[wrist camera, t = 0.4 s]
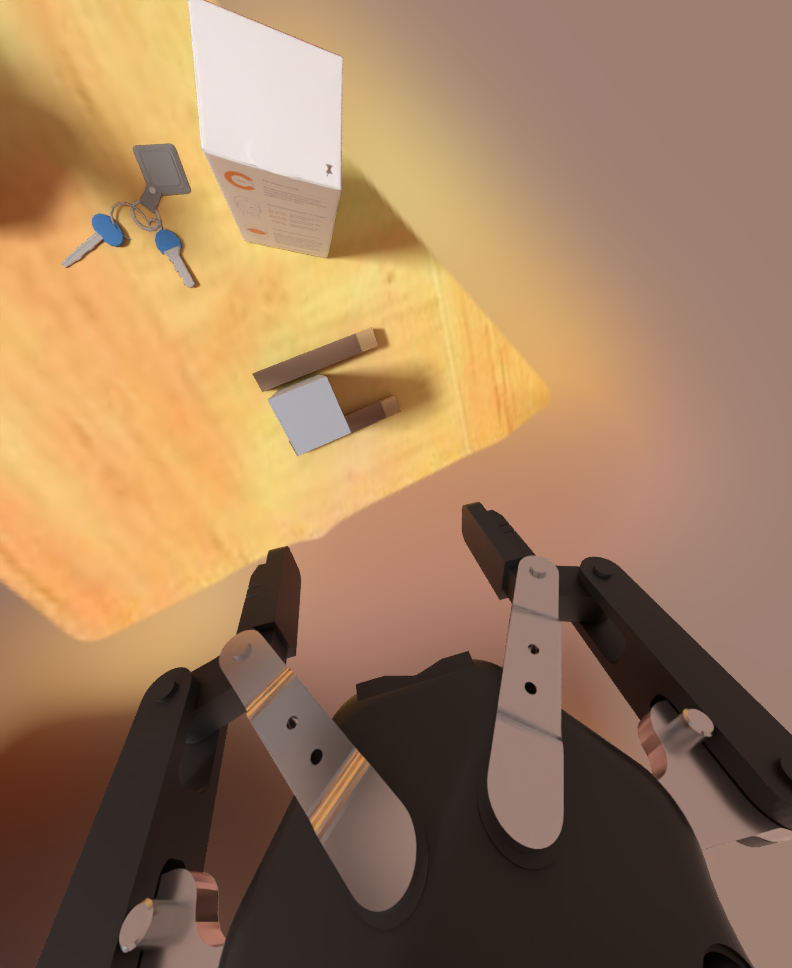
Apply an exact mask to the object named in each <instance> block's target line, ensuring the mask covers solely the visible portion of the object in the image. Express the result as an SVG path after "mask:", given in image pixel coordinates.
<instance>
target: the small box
mask: <svg viewBox="0 0 792 968" xmlns="http://www.w3.org/2000/svg"><path fill="white" fill-rule="evenodd" d="M188 4H189V15H190V26H191V37H192V48H193V59H194V71H195V81H196V92H197V103H198V115H199V126H200V137H201V148H202V151H203V153H204V155H205V157H206V159H207V161H208V163H209V165H210V167H211V169H212V171H213V173H214V176H215V178H216V180H217V182H218V185H219V187H220V189H221V191H222V193H223V195H224V197H225V200H226V202H227V204H228V206H229V208H230V211H231V213H232V215H233V217H234V220H235V222H236V224H237V226H238V228H239V230H240V232H241V234H242V237H243V239H244V240H245V241H246V242H251V243H256V244H260V245H265V246H270V247H275V248H279V249H284V250H289V251H294V252H299V253H304V254H309V255H314V256H319V257H324V258H327V257H328V253H329V248H330V244H331V240H332V235H333V230H334V224H335V219H336V215H337V210H338V205H339V200H340V195H341V191H342V75H343V72H342V71H343V58H342V57H341V56H340V55H338V54H335V53H333V52H330V51H327V50H325V49H323V48H320V47H318V46H316V45H313V44H311V43H308V42H306V41H303V40H301V39H299V38H296V37H293V36H291V35H288V34H286V33H284V32H281V31H279V30H276V29H274V28H271V27H269V26H267V25H264V24H262V23H259V22H257V21H255V20H252V19H249V18H247V17H245V16H242V15H240V14H237V13H235V12H232V11H230V10H228V9H225V8H223V7H220V6H218V5H216V4H213V3H211V2H208V1H206V0H188Z"/></svg>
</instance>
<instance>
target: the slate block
mask: <svg viewBox="0 0 792 968" xmlns="http://www.w3.org/2000/svg"><path fill="white" fill-rule="evenodd" d="M268 402H269V404H270V405H271V407H272V409H273V411H274V413H275V415H276V416H277V418H278V420H279V422H280V424H281V426H282V427H283V429H284V431H285V433H286V435H287V437H288V438H289V440H290V442H291V444H292V446H293V448H294V450H295V451H296V453H297V455H298V456H299V455H301V454H303V453H306V452H308V451H310V450H313V449H315V448H317V447H319V446H322V445H324V444H326V443H329V442H331V441H333V440H336V439H338V438H340V437H343V436H345V435H347V434H349V433H351V431H350V429H349V427H348V424H347V422H346V420H345V418H344V415H343V413H342V411H341V408H340V406H339V404H338V401H337V399H336V397H335V395H334V392H333V390H332V388H331V385H330V383H329V381H328V378H327V376H324V375H320V374H318V375H316V376H313V377H311V378H308V379H306V380H303V381H301V382H298V383H296V384H293V385H291V386H288V387H286V388H283V389H281V390H279V391H277V392H276V393H275V394H274V395H273V396H272V397H271V398H269V399H268Z"/></svg>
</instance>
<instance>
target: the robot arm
mask: <svg viewBox="0 0 792 968" xmlns="http://www.w3.org/2000/svg"><path fill="white" fill-rule="evenodd" d="M462 533H463V537H464V540H465V542H466V544H467V546H468V547H469V549H470V551H471V553H472V554H473V556H474V557H475V559H476V561H477V562H478V564H479V566H480V568H481V569H482V571H483V573H484V574H485V576H486V578H487V579H488V581H489V583H490V584H491V586H492V588H493V589H494V591H495V593H496V595H497V596H498V598H499V599H500V600H502V599H505V598H509V600H510V601H511V603H512V606H511V613H510V619H509V626H508V633H507V639H506V645H505V652H504V658H503V665H502V667H500V666H498V665H496V664H493V663H491V662H487V661H483V660H476V659H474V660H473V659H472V658H471V656H470V653H469V651H467V652H464V653H460V654H457V655H454V656H450V657H447V658H443V659H441V660H439V661H438V662H436V663H435V664H433V665H432V666H430V667H429V668H427V669H425V670H424V671H422V672H421V673H419V674H417V675H415V676H383V677H379V678H376V679H372V680H369V681H366V682H362V683H359V684H357V685H356V689H357V694H356V695H354V696H353V697H351V698H350V699H349V700H348V701H347V702H345V703H344V704H343V705H342V706H341V708H340V709H339V710H338V711H337V712H336V714H335V715H334V716H333V718H332V719H331V717H330V716H329V715H328V714H327V713H326V711H325V710H324V709H323V708H322V707H321V705H320V704H319V703H318V702H317V700H316V699H315V698H314V697H313V696H312V694H311V693H310V692H309V691H308V690H307V688H306V687H305V686H304V685H303V683H302V682H301V681H300V680H299V679H298V677H297V676H296V675H295V674H294V673H293V671H292V670H291V669H289V668H288V667H287V666H286V659H287V658H289V657H293V656H296V647H297V633H298V619H299V605H300V590H301V576H300V572H299V569H298V567H297V564H296V562H295V560H294V557H293V555H292V553H291V552H290V549H289V547H288V546H285V547H281V548H277V549H272V550H269V552H268V556H267V561H266V564H261V565H258V567H257V568H256V570H255V571H254V573H253V574H252V575H251V578H250V582H249V586H248V587H249V589H248V590H247V595H246V599H245V602H244V606H243V610H242V614H241V618H240V622H239V626H238V630H237V633H236V635H235V636H234V637H233V638H232V639H230V640H229V641H228V642H227V644H226V645H225V646H224V648H223V649H222V651H221V654H220V655H219V656H218V657H217V658H215V659H213V660H212V661H210V662H208V663H206V664H205V665H203V666H201V667H200V668H198V669H196V670H194V671H192V672H190V671H189V670H188V669H187V668H183V667H180V668H175V669H172V670H170V671H168V672H166V673H165V674H163V675H162V676H160V677H159V678H158V679H157V680H156V681H155V682H154V683H153V684H152V685H151V686H150V687H149V689H148V690H147V692H146V693H145V695H144V696H143V699H142V701H141V704H140V706H139V708H138V711H137V714H136V716H135V719H134V721H133V724H132V726H131V729H130V731H129V734H128V736H127V739H126V741H125V744H124V746H123V749H122V752H121V754H120V757H119V759H118V762H117V764H116V767H115V769H114V772H113V774H112V777H111V779H110V782H109V784H108V787H107V789H106V792H105V794H104V797H103V800H102V802H101V805H100V807H99V810H98V812H97V815H96V817H95V820H94V822H93V825H92V827H91V830H90V833H89V835H88V838H87V840H86V843H85V845H84V848H83V850H82V853H81V855H80V858H79V860H78V863H77V865H76V868H75V870H74V873H73V875H72V878H71V880H70V883H69V885H68V888H67V890H66V893H65V896H64V898H63V901H62V903H61V906H60V908H59V911H58V913H57V916H56V918H55V921H54V923H53V926H52V928H51V931H50V933H49V936H48V938H47V941H46V944H45V946H44V949H43V951H42V954H41V956H40V959H39V961H38V964H37V966H36V968H754V967H753V965H752V963H751V962H750V960H749V958H748V957H747V955H746V953H745V952H744V950H743V948H742V946H741V944H740V942H739V940H738V938H737V936H736V934H735V932H734V930H733V928H732V926H731V924H730V922H729V920H728V918H727V916H726V914H725V911H724V909H723V907H722V905H721V902H720V900H719V898H718V895H717V893H716V890H715V888H714V885H713V883H712V880H711V877H710V874H709V871H708V868H707V865H706V862H705V858H704V856H703V853H702V850H704V849H708V848H711V847H715V846H718V845H722V844H725V843H729V842H732V841H737V842H739V843H741V844H744V845H746V846H750V847H761V846H765V845H769V844H773V843H778V842H782V841H786V840H790V839H792V735H791V734H790V733H789V732H788V731H787V730H786V729H785V728H784V727H783V726H782V725H781V724H780V723H779V722H778V721H777V720H776V719H775V718H774V717H773V716H772V715H771V714H770V713H769V712H768V711H767V710H766V709H764V707H763V706H762V705H761V704H760V703H759V702H757V701H756V700H755V699H754V698H753V697H752V696H751V695H750V694H749V693H748V692H747V691H746V690H745V689H744V688H743V687H742V686H741V685H740V684H739V683H738V682H737V681H736V680H735V679H734V678H733V677H732V676H731V675H730V674H729V673H728V672H727V671H726V670H725V669H724V668H722V666H721V665H720V664H718V662H716V661H715V660H714V659H713V658H712V657H711V656H710V655H709V654H708V653H707V652H706V651H705V650H704V649H703V648H702V647H701V646H700V645H699V644H698V643H697V642H696V641H695V640H694V639H693V638H692V637H691V636H690V635H689V634H688V633H687V632H686V631H685V630H683V628H682V627H681V626H680V625H678V624H677V622H675V621H674V620H673V619H672V618H671V617H670V616H669V615H668V614H667V613H666V612H665V611H664V610H663V609H662V608H661V607H660V606H659V605H658V604H657V603H656V602H655V601H654V600H653V599H652V598H651V597H650V596H649V595H648V594H647V593H646V592H645V591H644V590H643V589H642V588H640V586H639V585H638V584H637V583H635V582H634V581H633V580H632V579H631V578H630V577H629V576H628V575H627V574H626V573H625V572H624V571H623V570H622V569H621V568H620V567H619V566H618V565H616V564H615V563H613V562H612V561H610V560H607V559H604V558H600V557H588V558H586V559H584V560H583V561H582V563H581V565H580V567H577V566H556V565H554V564H553V563H552V562H551V561H549V560H548V559H546V558H543V557H540V556H536V555H535V554H534V553H533V552H532V550H531V549H530V548H529V547H528V546H527V544H526V543H525V542H524V541H523V540H522V539H521V537H520V536H519V535H518V534H517V533H516V531H514V529H513V528H512V527H511V525H509V523H508V522H507V521H506V519H505V518H504V517H503V516H502V515H500V514H499V513H497V512H495V511H493V510H489V511H487V510H486V509H485V508H484V507H483V505H482V504H481V503H480V502H475V503H471V504H466V505H463V507H462ZM561 621H567V622H572V624H573V625H574V627H575V628H576V630H577V631H578V632H579V634H580V635H581V637H582V638H583V640H584V641H585V642H586V644H587V645H588V647H589V648H590V649H591V651H592V652H593V654H594V655H595V657H596V658H597V659H598V661H599V662H600V664H601V665H602V667H603V668H604V669H605V671H606V672H607V674H608V675H609V676H610V678H611V679H612V681H613V682H614V684H615V685H616V687H617V688H618V689H619V691H620V692H621V694H622V695H623V696H624V698H625V699H626V700H627V702H628V703H629V705H630V706H631V708H632V709H633V711H634V712H635V713H636V715H637V716H638V718H639V719H640V722H639V723H638V727H637V733H638V738H639V741H640V743H641V746H642V747H643V749H644V751H645V753H646V755H647V757H648V759H649V762H650V766H651V771H652V774H651V773H650V772H649V771H648V770H647V769H645V768H644V767H643V766H642V765H640V764H639V763H638V762H636V761H635V760H633V759H632V758H631V757H629V756H628V755H626V754H625V753H623V752H622V751H621V750H619V749H618V748H616V747H615V746H614V745H612V744H610V743H609V742H608V741H606V740H605V739H604V738H602V737H601V736H599V735H598V734H596V733H595V732H593V731H592V730H591V729H589V728H588V727H587V726H585V725H584V724H582V723H581V722H580V721H578V720H577V719H575V718H574V717H572V716H571V715H570V714H568V713H567V712H565V711H564V710H562V709H561V652H562V650H561V649H562V647H561V646H562V642H561V641H562V625H561ZM246 711H247V712H246ZM244 712H246V714H247V717H248V718H249V720H250V722H251V724H252V725H253V727H254V728H255V730H256V732H257V733H258V735H259V737H260V738H261V740H262V742H263V743H264V745H265V747H266V748H267V750H268V752H269V753H270V755H271V757H272V758H273V760H274V762H275V763H276V765H277V767H278V768H279V770H280V772H281V773H282V775H283V777H284V778H285V779H286V781H287V783H288V785H289V787H290V788H291V789H292V792H293V793H294V795H293V798H292V800H291V802H290V804H289V806H288V808H287V810H286V812H285V814H284V816H283V818H282V820H281V822H280V824H279V826H278V828H277V830H276V832H275V834H274V836H273V838H272V840H271V842H270V845H269V847H268V848H267V850H266V852H265V855H264V857H263V859H262V861H261V863H260V865H259V867H258V869H257V871H256V873H255V875H254V877H253V879H252V881H251V883H250V885H249V887H248V889H247V891H246V893H245V896H244V897H243V899H242V901H241V903H240V906H239V908H238V910H237V912H236V914H235V916H234V919H233V921H232V924H231V926H230V929H229V931H228V934H227V937H226V939H225V937H224V936H223V935H222V932H221V930H220V926H219V921H218V888H217V884H216V882H215V880H214V879H213V877H212V876H210V875H209V874H207V873H203V870H204V864H205V858H206V852H207V846H208V841H209V835H210V829H211V823H212V817H213V811H214V805H215V799H216V793H217V787H218V781H219V775H220V769H221V763H222V757H223V751H224V746H225V740H226V734H227V727H228V723H229V722H231V721H232V720H234V719H235V718H237V717H238V716H240V715H241V714H243V713H244Z"/></svg>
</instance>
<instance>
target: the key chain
mask: <svg viewBox="0 0 792 968" xmlns="http://www.w3.org/2000/svg"><path fill="white" fill-rule="evenodd" d="M133 151H134V154H135V156H136V159H137V161H138V164H139V166H140V168H141V171H142V173H143V176H144V178H145V181H146V183H147V184H146V188H145V191H144V193H143V195H142V197H141V199H140V200H136V201H135V202H134V203H132V205H131V204H129V203H126V202H118V203H116V204H115V205H113V206H112V208H111V212H110V216H111V218H110V217H108V216H106V215H104V214H97V215H94V217H93V219H92V225H93V227H94V230H95V231H96V233H95V234H93V235H92V236H91V237H90V238H88V239H87V241H86V242H85V243H84V244H83V243H82V244H81V245H80V246H79V247H77V248H76V249H75V251H74V252H73V253H71V254H70V255H69V256H68V257H67V258H66V259H65V260H64V261H63V262H62V264H63V265H64V266H65V267H66V268H67V267H69V266H70V265H72V264H73V263H75V262H76V261H79V260H80V259H81V258H83V257H82V256H84V255H85V254H86V253H87V252H89V251H91V250H92V249H94V248H95V246H96V245H97V244H99V243H100V242H101V241H102V240H104V241H105V242H106V243H108V244H110V245H111V246H120V245H122V243H123V242H124V237H125V238H126V239H130V238H128V237H126V236H125V235H124V234H123V232H122V230H121V228H120V227H119V225H118V224H117V223H116V222H115V221H114V220H113V216H112V214H113V210H114V208H115V207H117V206H118V205H129V206H131V209H130V210H131V215H132V218H133V219H134V221H135V223H136V224H137V225H138V226H139V227H141V228H142V229H144V230H146V231H149V232H150V231H156V230H157V229H159V228H161V230H160V231H159V232H157V233H156V238H155V242H156V245H157V248H158V249H159V250H160V251H161V253H162V254H163V253H164V254H166V255H167V256H169V257H170V258H169V260H170V261H171V262H172V263H175V266H174V267H175V271H176V272H178V271H179V272H180V274H179V276H180V277H182V278H183V280H184V281H185V282H183V283H184V285H187V287H193V286H194V285H195V282H194V281H193V279H192V277H191V275H190V273H189V271H188V270H187V268H186V266H185V264H184V262H183V260H182V258H181V257H180V255H179V254H180V249H181V248H182V245H181V242H180V240H179V238H178V237H177V236H176V235H175V234H174V233H173V232H171V231H169V230H162V229H163V228H162V226H161V217H160V214H159V212H158V211H157V209H156V208H157V206H158V203H159V201H160V199H161V196H166V195H178V194H188V193H190V187H189V184H188V181H187V179H186V176H185V173H184V170H183V167H182V165H181V162H180V159H179V156H178V154H177V151H176V148H175V147H174V145H172V144H155V145H138V146H134V147H133ZM137 204H142V205H144V206H145V207H146V208H148V209H149V210H151V211H152V212H153V213H156V215H157V220H156V219H153V218H151V219H149V221H148V225H149V226H150V222H151V221H156V222H157V223H156V225H155V226H154V227H146V226H143V225H142V224H141V223H139V222H138V220H137V219H136V217H135V214H134V209H136V210H137V211H139V212H140V213H141V214H142V215H143V217H144V218H145V216H144V214H143V213H142V212H141V211H140V210H139V209H138V208H136V207H135V206H136V205H137ZM145 220H146V218H145ZM146 221H147V220H146ZM115 224H116V225H117V226H116V225H115ZM117 227H118V228H117ZM130 240H132V239H130Z"/></svg>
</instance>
